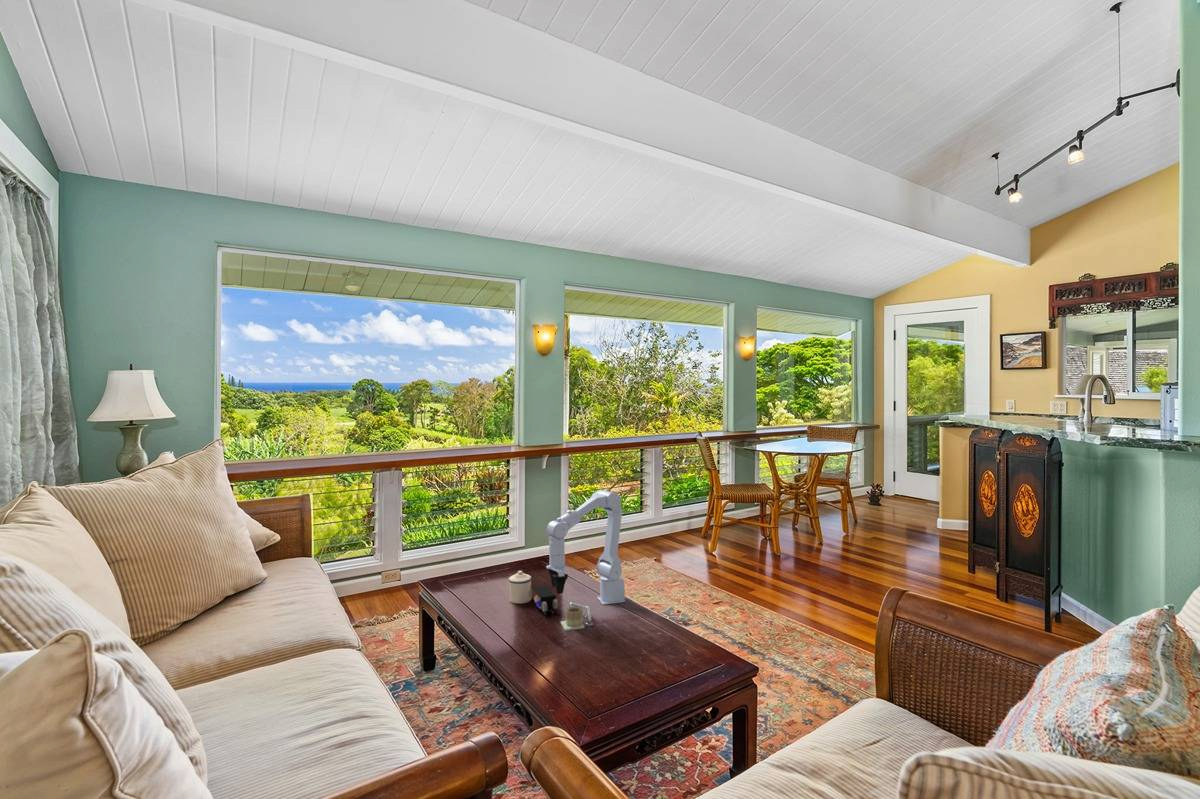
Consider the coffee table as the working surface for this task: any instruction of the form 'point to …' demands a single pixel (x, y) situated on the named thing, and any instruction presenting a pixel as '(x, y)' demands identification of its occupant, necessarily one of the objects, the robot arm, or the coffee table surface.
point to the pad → (570, 627)
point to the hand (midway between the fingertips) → (557, 589)
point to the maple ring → (574, 616)
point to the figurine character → (545, 598)
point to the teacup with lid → (520, 588)
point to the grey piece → (587, 615)
